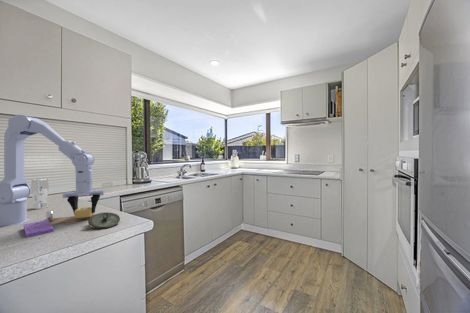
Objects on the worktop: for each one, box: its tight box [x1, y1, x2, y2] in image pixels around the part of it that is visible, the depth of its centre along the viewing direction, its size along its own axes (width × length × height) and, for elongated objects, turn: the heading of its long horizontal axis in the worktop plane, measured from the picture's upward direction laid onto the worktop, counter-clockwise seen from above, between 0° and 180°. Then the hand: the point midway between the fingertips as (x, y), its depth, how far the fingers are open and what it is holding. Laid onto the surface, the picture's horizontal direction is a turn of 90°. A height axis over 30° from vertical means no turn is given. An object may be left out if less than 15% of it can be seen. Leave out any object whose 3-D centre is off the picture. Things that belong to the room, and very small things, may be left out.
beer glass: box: [30, 178, 50, 210], centre depth 112 cm, size 7×7×15 cm
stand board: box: [44, 207, 96, 226], centre depth 88 cm, size 19×10×5 cm, turn 110°
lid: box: [87, 211, 121, 230], centre depth 82 cm, size 11×10×5 cm
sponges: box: [23, 218, 55, 238], centre depth 75 cm, size 7×13×2 cm, turn 48°
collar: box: [73, 206, 95, 218], centre depth 90 cm, size 6×6×3 cm
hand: (84, 213), depth 90 cm, fingers closed on collar, 6 cm apart
